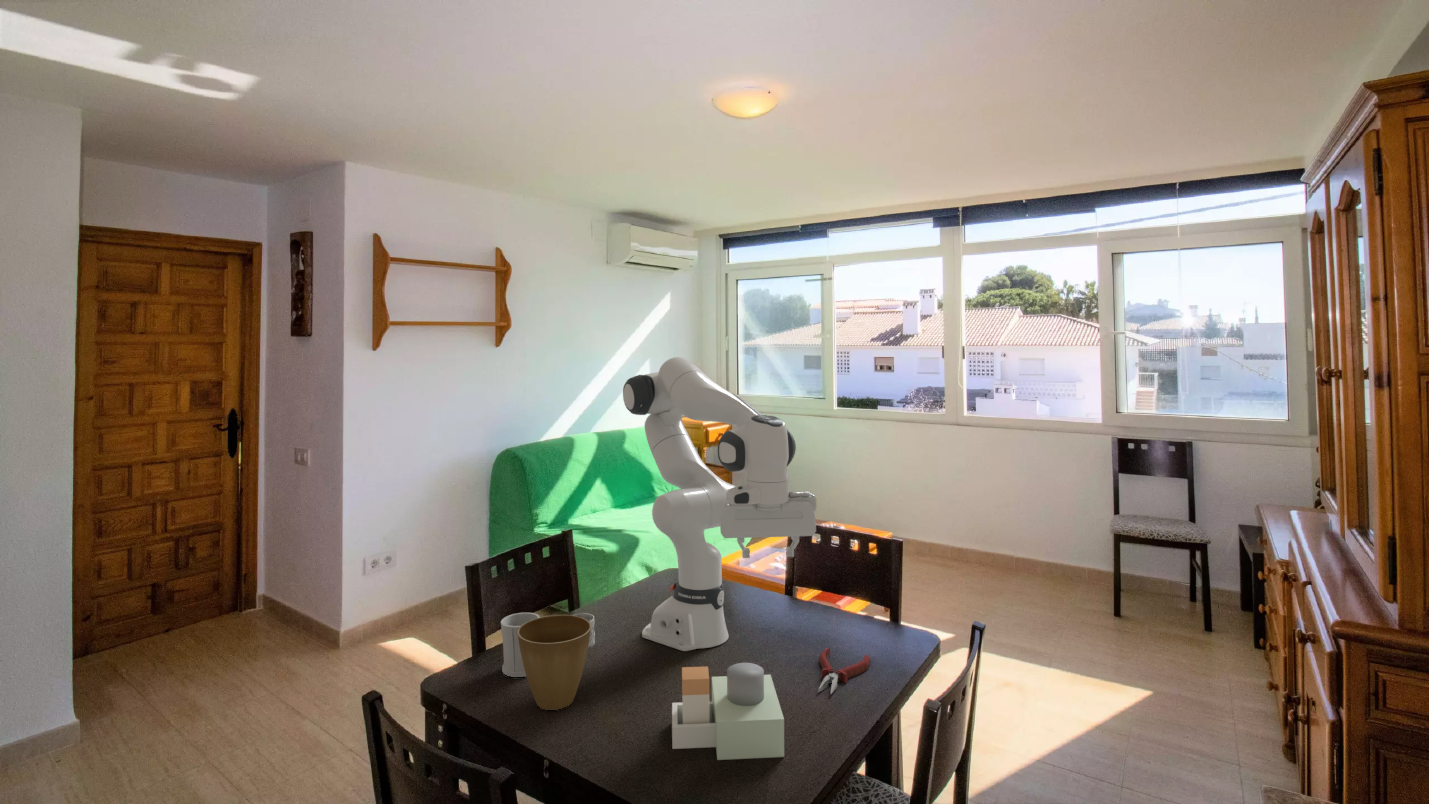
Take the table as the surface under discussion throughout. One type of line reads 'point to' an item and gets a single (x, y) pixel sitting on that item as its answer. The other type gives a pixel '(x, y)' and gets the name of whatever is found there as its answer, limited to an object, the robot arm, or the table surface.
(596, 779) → the table surface
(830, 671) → the pliers
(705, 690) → the two-tone orange block
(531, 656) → the plant pot
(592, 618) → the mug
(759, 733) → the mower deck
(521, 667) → the cup
